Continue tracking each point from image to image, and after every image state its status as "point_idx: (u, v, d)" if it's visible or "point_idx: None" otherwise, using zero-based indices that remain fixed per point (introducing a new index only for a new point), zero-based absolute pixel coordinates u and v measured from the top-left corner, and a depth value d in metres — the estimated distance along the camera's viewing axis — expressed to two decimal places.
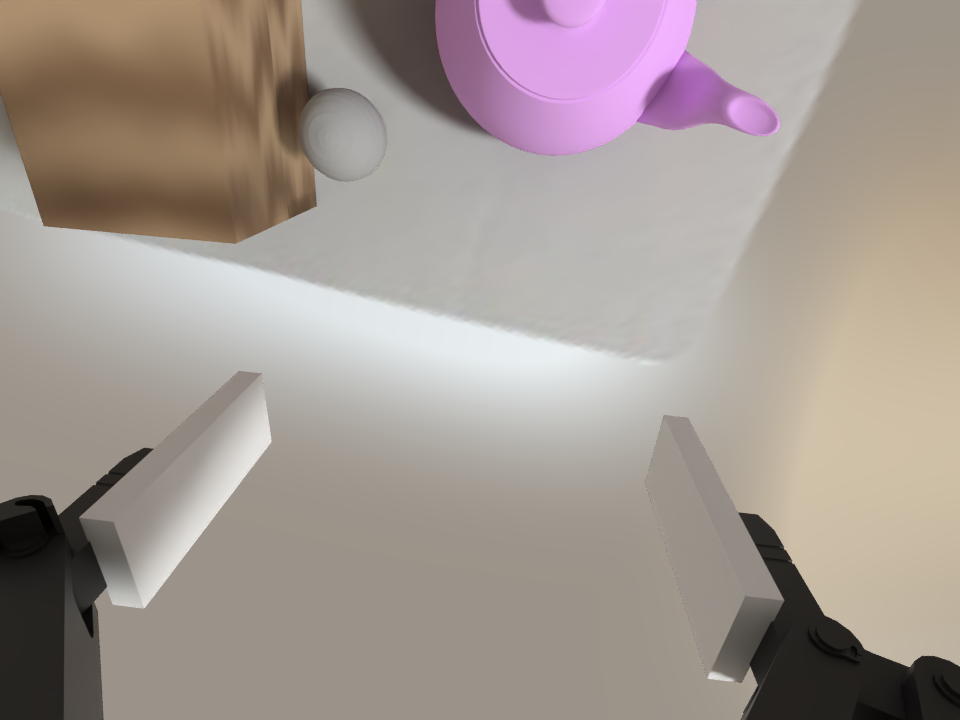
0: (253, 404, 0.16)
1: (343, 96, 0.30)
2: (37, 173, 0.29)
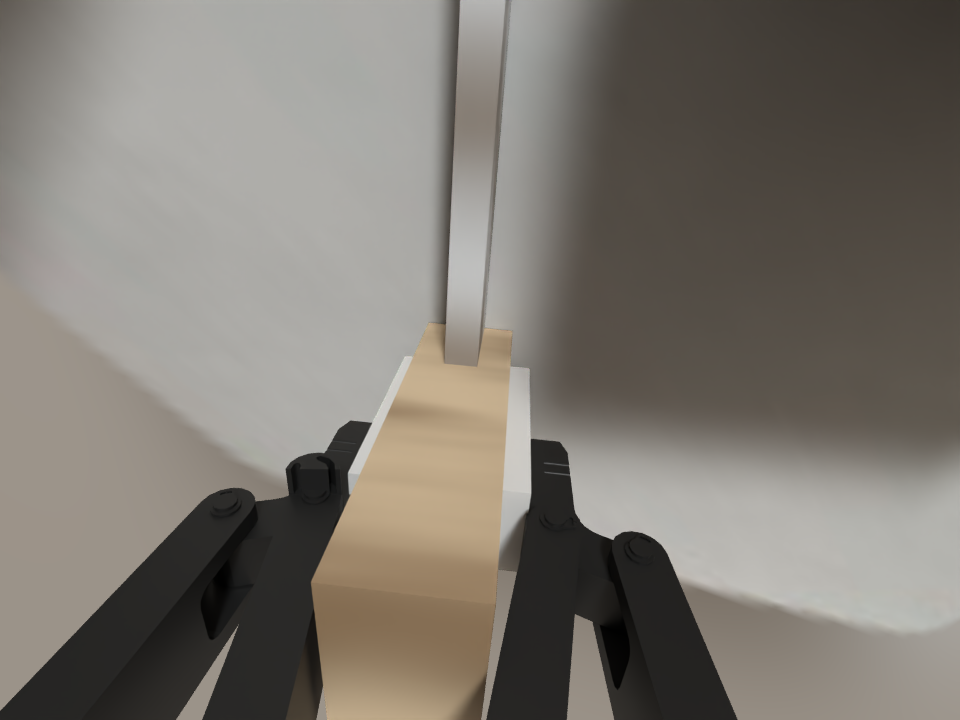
0: None
1: None
2: None
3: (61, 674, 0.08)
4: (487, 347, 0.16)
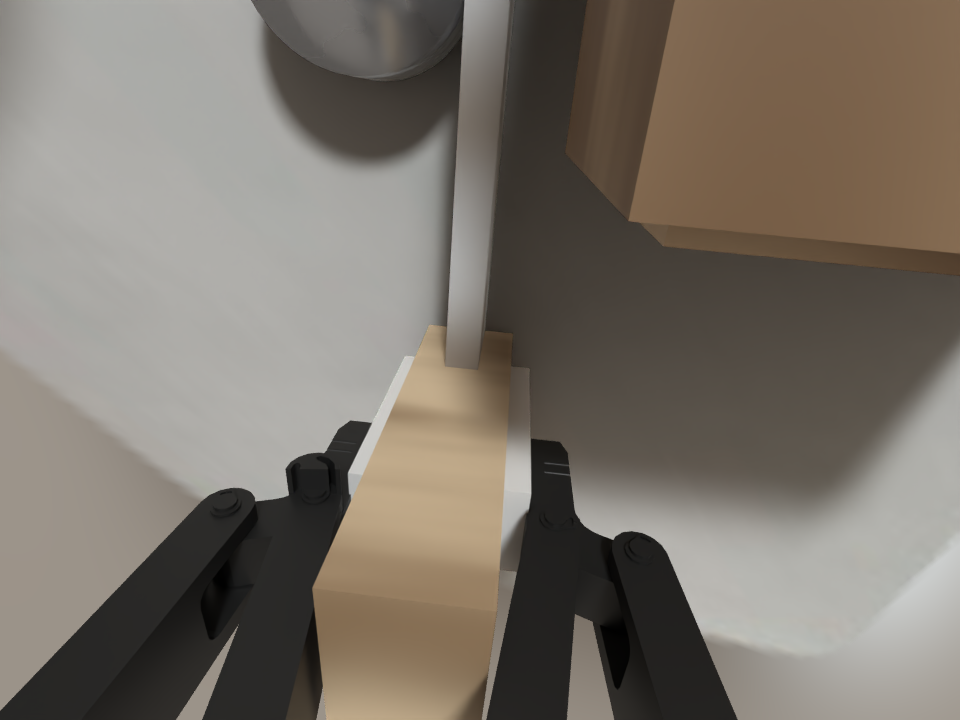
0: None
1: None
2: None
3: (61, 674, 0.08)
4: (488, 350, 0.16)
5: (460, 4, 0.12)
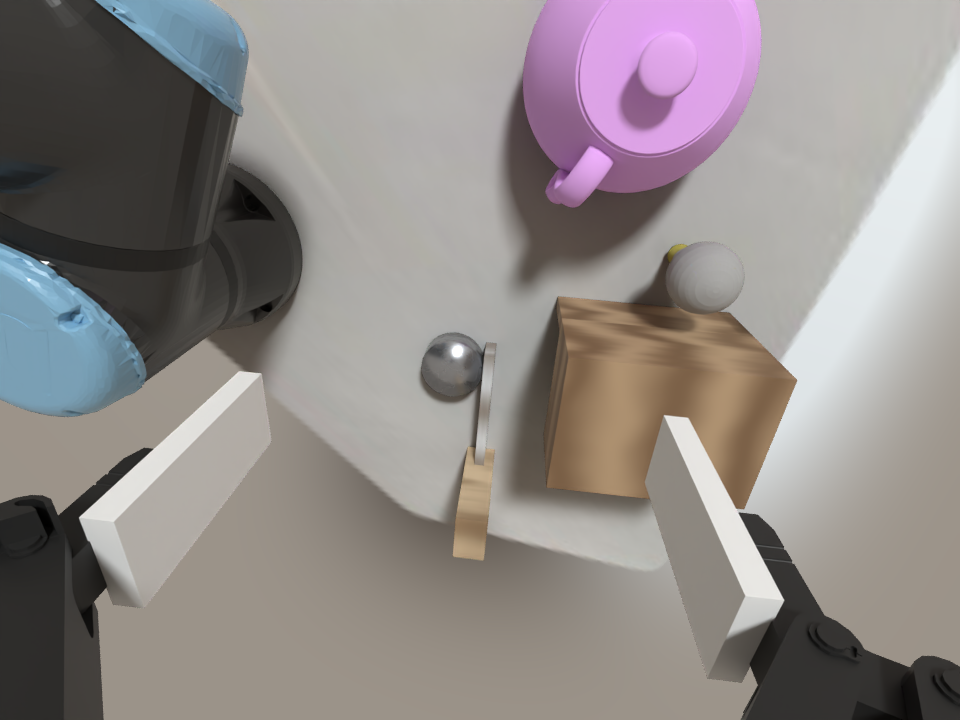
0: (253, 404, 0.16)
1: (680, 273, 0.37)
2: None
3: None
4: (486, 457, 0.54)
5: (477, 384, 0.50)
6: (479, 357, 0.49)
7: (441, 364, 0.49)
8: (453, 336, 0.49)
